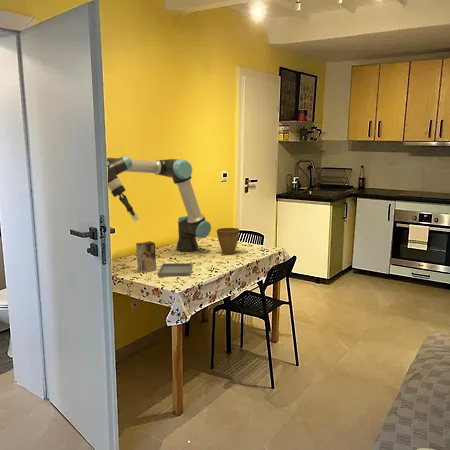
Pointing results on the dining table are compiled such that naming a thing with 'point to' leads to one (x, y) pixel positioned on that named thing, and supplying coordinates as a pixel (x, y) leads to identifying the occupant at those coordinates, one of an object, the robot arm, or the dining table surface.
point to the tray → (175, 269)
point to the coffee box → (146, 256)
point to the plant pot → (228, 239)
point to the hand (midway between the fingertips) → (136, 220)
